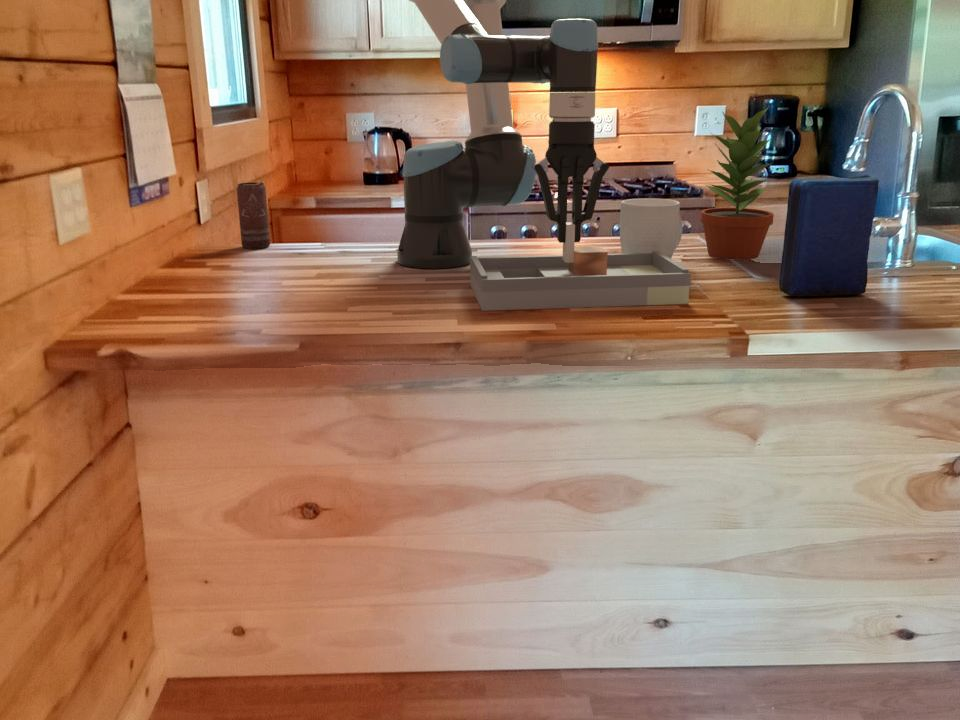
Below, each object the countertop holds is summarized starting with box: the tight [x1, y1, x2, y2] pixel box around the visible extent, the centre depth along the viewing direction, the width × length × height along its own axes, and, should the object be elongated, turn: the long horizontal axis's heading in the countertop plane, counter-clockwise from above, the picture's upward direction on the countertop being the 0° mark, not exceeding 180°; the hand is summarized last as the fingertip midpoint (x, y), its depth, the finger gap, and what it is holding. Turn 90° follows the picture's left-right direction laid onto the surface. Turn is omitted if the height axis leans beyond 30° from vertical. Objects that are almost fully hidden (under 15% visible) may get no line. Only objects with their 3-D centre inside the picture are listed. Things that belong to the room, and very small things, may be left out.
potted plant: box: [699, 105, 775, 261], centre depth 173 cm, size 15×15×30 cm
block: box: [569, 245, 609, 276], centre depth 148 cm, size 6×6×4 cm
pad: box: [620, 265, 691, 306], centre depth 147 cm, size 7×18×3 cm, turn 7°
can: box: [236, 181, 271, 250], centre depth 187 cm, size 6×6×14 cm
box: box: [469, 251, 692, 312], centre depth 145 cm, size 34×18×6 cm, turn 97°
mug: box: [619, 197, 683, 259], centre depth 163 cm, size 15×11×13 cm
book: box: [778, 174, 880, 297], centre depth 141 cm, size 14×5×20 cm, turn 97°
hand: (568, 260), depth 147 cm, fingers closed
